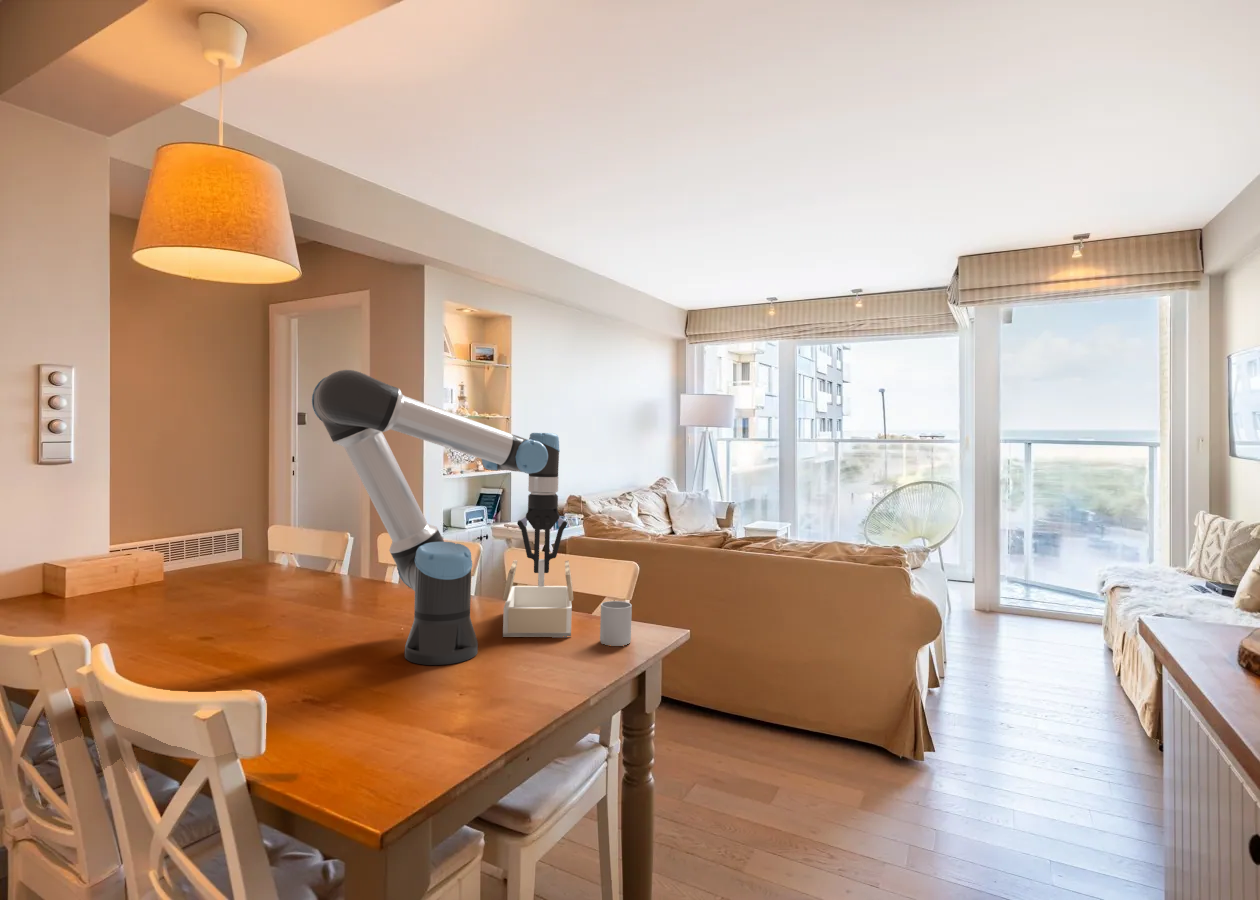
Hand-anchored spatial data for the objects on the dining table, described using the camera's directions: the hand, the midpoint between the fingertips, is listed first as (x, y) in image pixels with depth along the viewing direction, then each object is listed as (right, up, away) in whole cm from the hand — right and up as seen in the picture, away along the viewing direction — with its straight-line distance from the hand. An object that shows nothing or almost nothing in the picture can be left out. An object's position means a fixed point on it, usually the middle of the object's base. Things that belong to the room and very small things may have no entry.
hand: (541, 585), depth 168 cm
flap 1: (-7, +2, -1) cm, 7 cm away
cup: (+20, -11, -13) cm, 26 cm away
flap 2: (+7, +1, +1) cm, 7 cm away
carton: (-1, -10, 0) cm, 10 cm away
